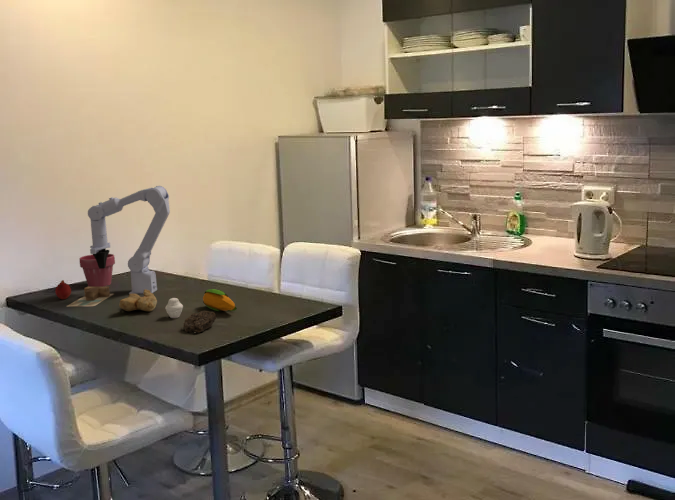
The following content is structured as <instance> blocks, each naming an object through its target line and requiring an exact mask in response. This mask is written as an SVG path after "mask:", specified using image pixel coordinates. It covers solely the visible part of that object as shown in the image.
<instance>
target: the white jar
mask: <svg viewBox="0 0 675 500" xmlns="http://www.w3.org/2000/svg"><path fill="white" fill-rule="evenodd" d="M179 300H180V299H178V298H176V297H172V298H171V297H170V299H168V303H167V304H166V306H165V307H164V308H165V310H166V311H165V312H166V313H167V314H168V316H169V317H170V318H171V319H177V318H179V317H180V316H181V314H182V311H183V308H184V305H183V304H182V303H181V301H179Z"/></svg>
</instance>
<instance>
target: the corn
mask: <svg viewBox="0 0 675 500" xmlns="http://www.w3.org/2000/svg"><path fill="white" fill-rule="evenodd" d="M202 302H203V304H204V305H205V307H207V308H209V309H210V310H213V311H214V312H215V311H216V312H219V313H220V312H221V311H223V312H226V311H229V312H235V311H237V310H238V308H237V305H235V302H234V301H233V300H232V299H231V298H230V297H229V295H228V294H227V293H226V292H225V291H223V290H220V289H215V288H211V289H207V290H205V291H204V295H203V296H202Z"/></svg>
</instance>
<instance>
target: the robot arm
mask: <svg viewBox="0 0 675 500" xmlns="http://www.w3.org/2000/svg"><path fill="white" fill-rule="evenodd" d="M169 199H170V195H169V193H168V190H167V188H165V187H164V186H162V185H156V186H154V187H149V188H145V189H141V190H138V191H136V192H134V193H131V194H128V195H127V196H125V197H122V198H119V197H113V196H112V197H110V198H109V197H108V200H105V201H104V202H102V201H100V202H98V204H96V205H92V206H91V207H89V209H88V210H87V216H88V217H89V219H90V230H91V240H92V241H91V243H92V245H90V246H89V248H90V249H89V251H90V255H93V256H94V257H95V259H96V261H97V264H98V267H99V269H104V268H105V267H106V261H107V256H108V254H110V249H109V248H111V242H108V235H107V222H106V221H107V220H106V217H109V216H112V215H113V214H116V213H119V212H122V210H123V209H124V207H125V206H128V205H130V204H133V203H136V202H138V201H141V202H147V203H149V205H150V206H151V207H152V208H153V210H154V213H155V214H154V215H153V217H152V220H151V222H150V223H149V226H148V228H147V231H146V233H145V234H144V236H143V238H142V240H141V242H140V245H139V246H138V249H137V250H136V251H135V252H134V254H133V256H131V257H129V259H128V261H127V267H128V269H129V271H130V272H129V273H130V281H131V282H130V284H131V291H130V292H128V294H129V295H130V294H132V293H133V294H143V293H144V289H147V290H150V292H151V293H153V294H154V293H155V292H156V291H158V285H157V276H156V275H157V274H156V272H155V271H154V270H150V268H149V267H148V266H149V265H150V262H151V261H150V257H151V255H152V250H153V248H154V246H155V243H156V242H157V239H158V238H159V236H160V234H161V232H162V229H163V227H165V223H166V221H167V220H168V217H169V215H170V213H171V210H170V209H171V208H170V201H169Z"/></svg>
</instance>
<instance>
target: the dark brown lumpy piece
mask: <svg viewBox="0 0 675 500" xmlns="http://www.w3.org/2000/svg"><path fill="white" fill-rule="evenodd" d="M216 315H217V314H216V313H215V311H209V310H201V311H199V312H198V313H196V312H195V313H191V314H190V315H189V317H187V318H185V320H184V321H183V322H182V324H183V329H184V331H185V332H186V333H192V332H196V333H195V334H197V333H201V332H204V331H206V330H207V329H209V328H211V327H213V324H214V323H215V320H217V316H216Z"/></svg>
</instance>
